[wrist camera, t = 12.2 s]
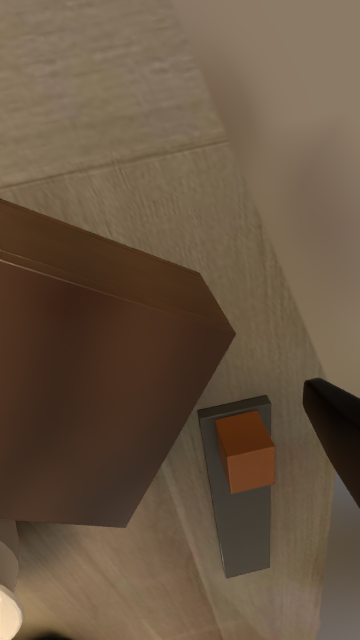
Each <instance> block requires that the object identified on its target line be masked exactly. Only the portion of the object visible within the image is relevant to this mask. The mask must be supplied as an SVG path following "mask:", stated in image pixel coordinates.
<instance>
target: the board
mask: <svg viewBox="0 0 360 640" xmlns="http://www.w3.org/2000/svg"><path fill="white" fill-rule="evenodd" d="M256 410H257V411H258V413H259V415H260V417H261V419H262V421H263V423H264V425H265V427H266V429H267V431H268V433H269V435H270V437H271V402H270V401H269V399H268V397H267V396H266V395H265V396H261V397H256V398H252V399H247V400H243V401H238V402H234V403H229V404H225V405H220V406H216V407H211V408H207V409H202V410H198V416H199V422H200V428H201V434H202V440H203V446H204V453H205V459H206V465H207V471H208V477H209V483H210V489H211V495H212V501H213V507H214V513H215V520H216V526H217V532H218V538H219V544H220V550H221V556H222V562H223V568H224V573H225V578H226V579H227V578H231V577H235V576H239V575H242V574H246V573H250V572H254V571H258V570H262V569H266V568H270V485H267V486H263V487H258V488H254V489H250V490H246V491H242V492H238V493H233V494H231V493H230V489H229V486H228V483H227V479H226V476H225V473H224V469H223V466H222V463H221V459H220V456H219V449H218V441H217V434H216V426H215V420H216V419H220V418H224V417H229V416H233V415H238V414H242V413H247V412H251V411H256Z"/></svg>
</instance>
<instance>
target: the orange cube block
mask: <svg viewBox="0 0 360 640" xmlns="http://www.w3.org/2000/svg"><path fill="white" fill-rule="evenodd" d="M215 426H216V434H217V441H218V449H219V456H220V459H221V463H222V466H223V469H224V473H225V476H226V479H227V483H228V486H229V489H230V493H231V494H233V493H238V492H242V491H246V490H250V489H254V488H258V487H263V486H267V485H271V484H274V480H275V445H274V443H273V441H272V439H271V437H270V435H269V433H268V431H267V429H266V427H265V425H264V423H263V421H262V419H261V417H260V415H259V413H258V411H257V410H256V411H251V412H247V413H242V414H238V415H233V416H229V417H224V418H220V419H216V420H215Z"/></svg>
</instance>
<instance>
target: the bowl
mask: <svg viewBox="0 0 360 640" xmlns="http://www.w3.org/2000/svg"><path fill="white" fill-rule="evenodd" d="M19 549H20V548H19V539H18V534H17V529H16V524H15V520H4V519H0V640H11V639H12V638H13V637H14V636H15V634H16V633H17V632H18V631H19V629H20V626H21V624H22V621H23V618H24V611H23V606H22V604H21V602H20V601H19V599H18V598H17V596H16V595H15V594H14V590H15V586H16V581H17V577H18V573H19Z"/></svg>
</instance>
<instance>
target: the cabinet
mask: <svg viewBox="0 0 360 640" xmlns="http://www.w3.org/2000/svg"><path fill="white" fill-rule="evenodd" d="M235 335H236V333H235V331H234V330H233V328H232V326H231V325H230V323H229V321H228V320H227V318H226V316H225V315H224V313H223V311H222V310H221V308H220V306H219V305H218V303H217V301H216V300H215V298H214V296H213V295H212V293H211V291H210V290H209V288H208V286H207V285H206V283H205V281H204V280H203V278H202V276H201V275H200V273H198V272H195V271H193V270H190V269H187V268H185V267H182V266H179V265H177V264H174V263H171V262H169V261H166V260H163V259H160V258H158V257H155V256H152V255H150V254H147V253H144V252H142V251H139V250H136V249H134V248H131V247H128V246H126V245H123V244H120V243H118V242H115V241H112V240H110V239H107V238H104V237H102V236H99V235H96V234H94V233H91V232H88V231H86V230H83V229H80V228H77V227H75V226H72V225H69V224H67V223H64V222H61V221H59V220H56V219H53V218H51V217H48V216H45V215H43V214H40V213H37V212H35V211H32V210H29V209H27V208H24V207H21V206H19V205H16V204H13V203H11V202H8V201H5V200H2V199H0V519H4V520H18V521H32V522H47V523H61V524H75V525H89V526H103V527H117V528H126V526H127V524H128V522H129V521H130V519H131V517H132V515H133V514H134V512H135V510H136V508H137V507H138V505H139V503H140V501H141V500H142V498H143V496H144V494H145V493H146V491H147V489H148V487H149V486H150V484H151V482H152V480H153V479H154V477H155V475H156V473H157V472H158V470H159V468H160V466H161V465H162V463H163V461H164V459H165V458H166V456H167V454H168V452H169V451H170V449H171V447H172V445H173V444H174V442H175V440H176V438H177V437H178V435H179V433H180V431H181V430H182V428H183V426H184V424H185V423H186V421H187V419H188V417H189V416H190V414H191V412H192V410H193V408H194V407H195V405H196V403H197V401H198V400H199V398H200V396H201V394H202V393H203V391H204V389H205V387H206V386H207V384H208V382H209V380H210V379H211V377H212V375H213V373H214V372H215V370H216V368H217V366H218V365H219V363H220V361H221V359H222V358H223V356H224V354H225V352H226V351H227V349H228V347H229V345H230V344H231V342H232V340H233V338H234V337H235Z"/></svg>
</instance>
